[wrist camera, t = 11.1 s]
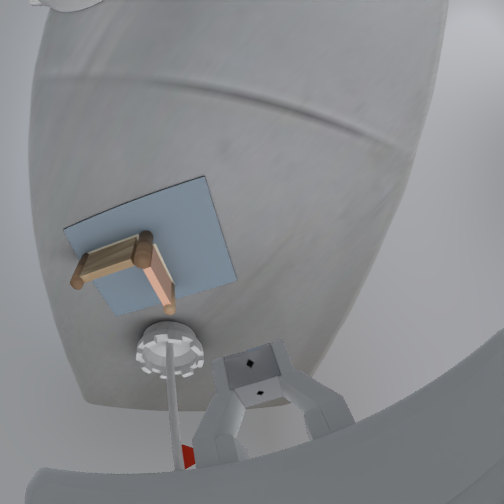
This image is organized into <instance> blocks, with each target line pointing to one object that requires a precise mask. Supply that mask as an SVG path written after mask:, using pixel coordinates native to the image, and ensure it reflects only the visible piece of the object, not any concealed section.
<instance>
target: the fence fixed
mask: <svg viewBox="0 0 504 504" xmlns="http://www.w3.org/2000/svg"><path fill="white" fill-rule="evenodd" d="M152 244H153V234H152V233H151V232H150V231H142V232H141V233H140V235H139V239H138V240H137V238H136V237H134V238H132V239H129V240H126V241H123V242H120V243H118V244H115V245H112V246H109V247H107V248H104V249H101V250H99V251H96V252H93V253H91V254H88V253H85V254H83V255H82V257H81V259H80V261H79V263H78V265H77V267H76V270H75V272H74V274H73V276H72V279H71V281H70V284H71V286H72V287H73V288H74V289H77V290H79V289H81V288H82V286H83V284H84V283H86V282H88V281H91V280H94V279H97V278H100V277H103V276H106V275H109V274H112V273H115V272H118V271H121V270H124V269H127V268H130V267H133V266H134V264H135V266H136V267H138V268H140V269H144V268H147V267H148V266H149V264H150V258H151V251H152Z"/></svg>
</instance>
